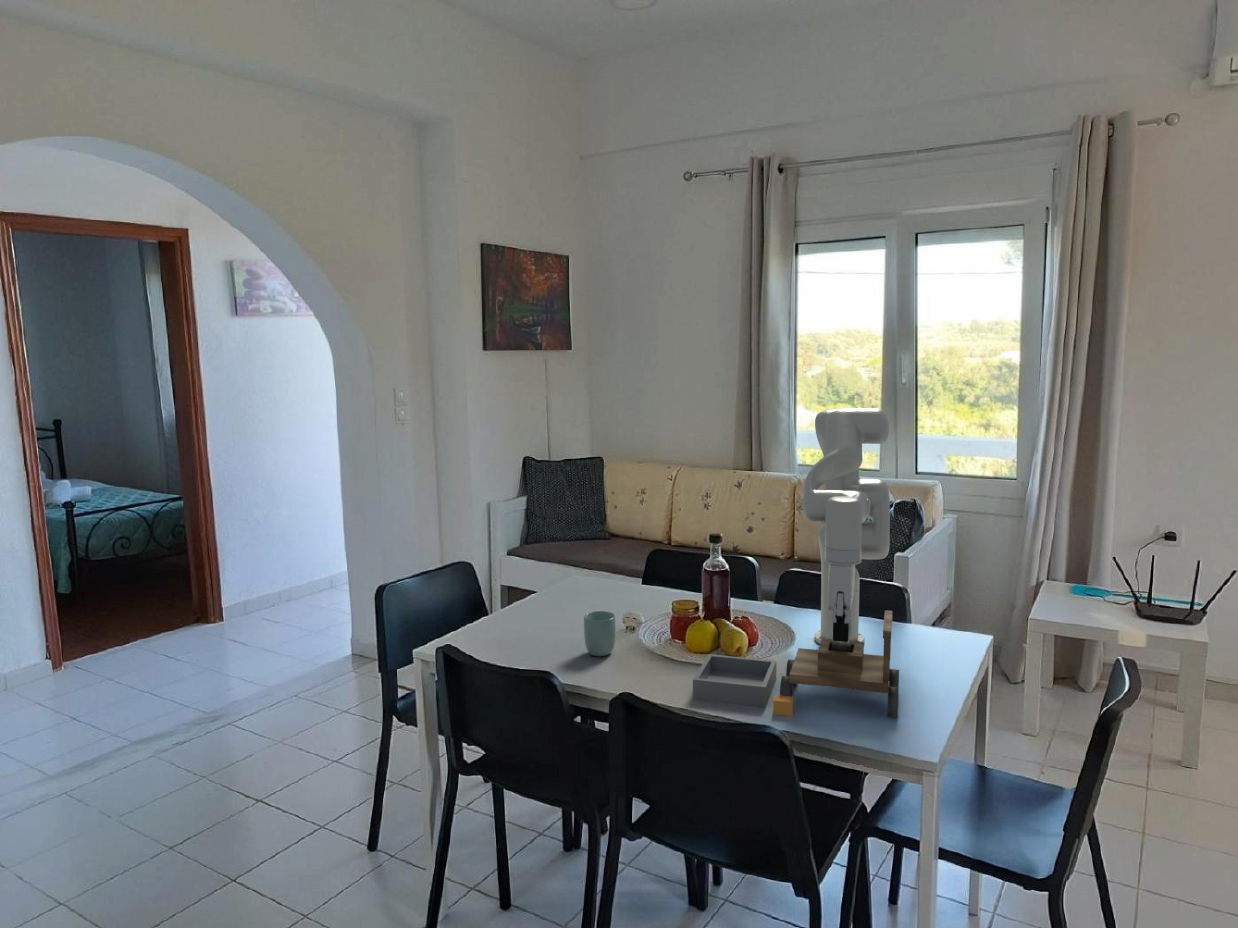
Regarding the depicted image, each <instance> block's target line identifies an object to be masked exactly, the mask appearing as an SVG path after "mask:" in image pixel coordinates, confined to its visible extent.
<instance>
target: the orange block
mask: <svg viewBox="0 0 1238 928" xmlns="http://www.w3.org/2000/svg"><path fill="white" fill-rule="evenodd" d="M794 711H795V696H792V697H790V696H781V695H780V694H774V697H773V700H772V714H773V715H779V716H787V717H793V714H794Z"/></svg>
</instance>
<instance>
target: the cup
mask: <svg viewBox="0 0 1238 928" xmlns="http://www.w3.org/2000/svg"><path fill="white" fill-rule="evenodd" d="M616 627H617V625H616V615H615V613H613V612H612V611H605V610H596V611H591V612H590V611H589V612H588V613H586V614H585V615H584V617H583V634H584V643H585V648H586V650H587V652H588V653H589V654H590V655H591V656H595V657H606V656H608V655H610V654H611V653H612V652H613V651H614V649H615V644H616V636H617V634H616V633H617V632H616V630H617V629H616Z"/></svg>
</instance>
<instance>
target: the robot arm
mask: <svg viewBox="0 0 1238 928" xmlns="http://www.w3.org/2000/svg"><path fill="white" fill-rule="evenodd" d="M814 429H815V435H816V438H817V442H818V444H819V447H820V449H821V452H822V454H823V457H822V458H821V459H819V460H818V461H817V462H815V464H814V465H813V466H812V467H811V469H810V470H809V471H808V473H807V475H806V477H805V480H804V484H803V500H802V502H803V504H802V510H803V515H804V517H805V520H807V521H808V522H810V523H814V524H822V525H821V526H820V528H819V530H818V534H817V535H818V536H817V537H818V538H817V539H818V546H819V554H820V562H821V563H820V566H821V567H820V568H821V578H820V579H821V581H820V582H821V583H820V585H821V590H820V595H821V597H820V600H821V601H820V630H818V631H816V632H815V633H814V640H815V642H816V643H818V644H819V645H820V643H821V640H822V639H832V610H833V609H834V622H833V640H834V641H841V642H848V635H849V623H847V619H848V611H849V610H851V641H856V642H864V643H865V636H864V635H863V634H862V633H861V632H859V631H860V630H859V619H860V618H859V617H860V616H859V615H860V614H859V613H860V574H859V571H858V569H857V568H856V566H857V565H859V564H861V563H862V560H883V559H885V558H886V557H887V556H888V554H889V551H890V547H891V546H890V544H891V543H890V542H891V532H890V531H891V530H890V529H891V527H890V525H891V524H890V523H891V517H890V516H891V513H890V509H891V507H890V505H891V503H890V502H891V501H890V491H889V488H888V485H887V483H886V482H885V481H883V480H881V479H878V478H861V477H860V468H861V466H862V465H863V464H862V463H863V444H864V445H866V444H868V445H871V444H872V445H874V444H875V445H883V444H884V443H886V442H887V440H888V437H889V432H890V422H889V417H888V415H887V413H886V412H885V410H883V409H881V408H875V407H874V408H870V407H869V408H858V407H857V408H856V407H855V408H849V407H848V408H835V409H827V410H823V411H820V412H819V413H817V414H816V417H815V420H814ZM823 485H824V488H822V489H820V488H821V486H823ZM868 518H870V520H871V521H866V520H867V519H868ZM843 608H845V609H843ZM843 612H845V615H844V614H843Z"/></svg>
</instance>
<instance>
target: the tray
mask: <svg viewBox="0 0 1238 928" xmlns="http://www.w3.org/2000/svg"><path fill="white" fill-rule="evenodd" d="M776 681H777V660H772V659H765V658H763V659H761V658H753V657H752V658H751V657H742V656H732V655H731V656H730V655H723V654H722V655H721V654H712V653H711V654H709V653H708V654H707V656H706V658H705V659H704V661H703V662H702V664H701V666H700V668H699V669H698V670H697V672H696V673H695V675H694V677H693V678H692V699H693V700H698V701H707V702H715V703H716V702H718V703H725V704H733V705H734V704H736V705H743V706H744V705H745V706H751V707H762V708H767V705H768V702H769V700H770V697H771V694H772V692H773V689H774V687H775V684H776Z"/></svg>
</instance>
